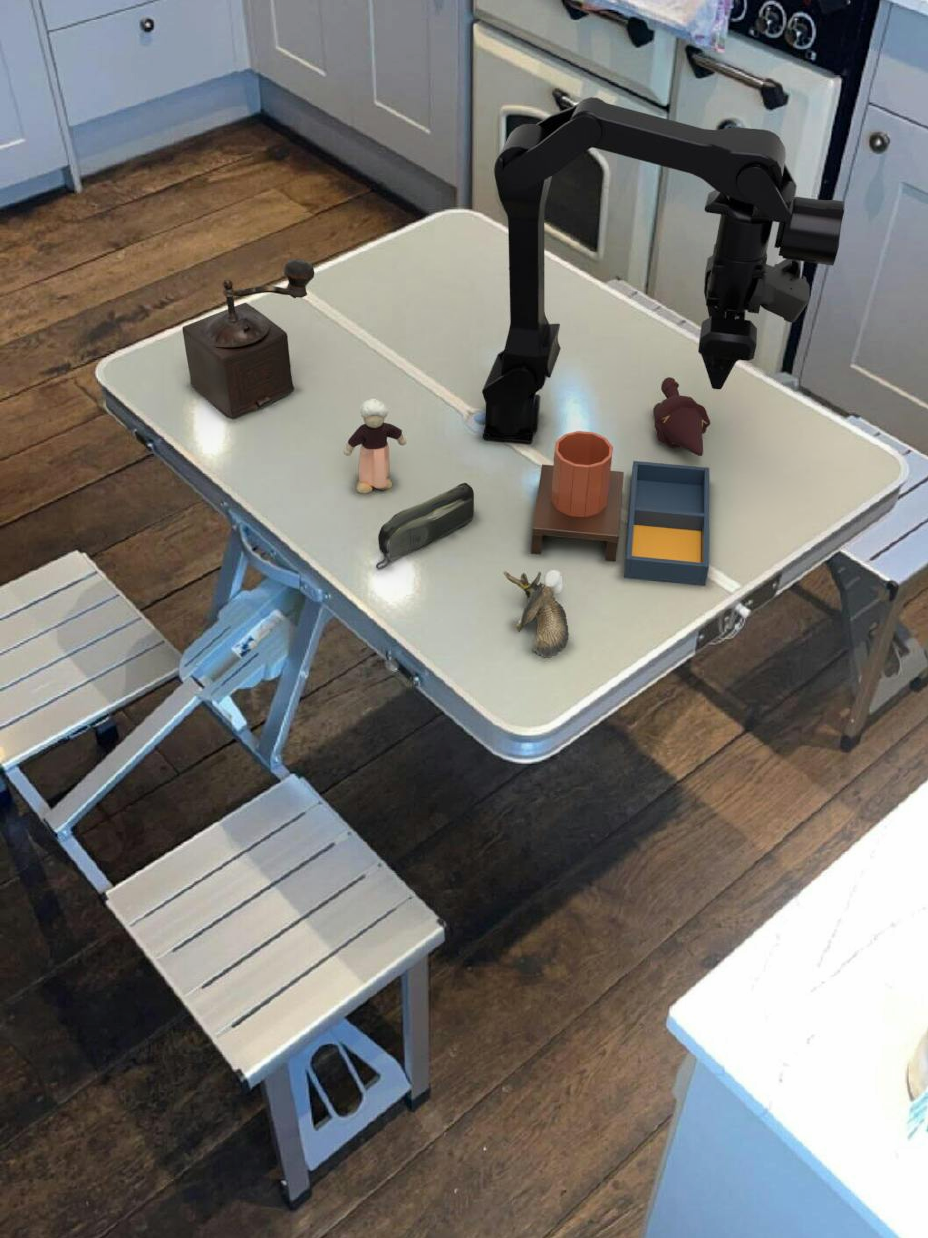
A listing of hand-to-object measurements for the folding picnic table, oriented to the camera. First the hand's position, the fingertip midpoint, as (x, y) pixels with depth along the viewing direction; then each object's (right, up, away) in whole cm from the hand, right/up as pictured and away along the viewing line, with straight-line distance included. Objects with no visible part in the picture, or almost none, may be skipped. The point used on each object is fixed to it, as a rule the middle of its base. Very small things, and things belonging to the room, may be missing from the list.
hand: (718, 366), depth 155 cm
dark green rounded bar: (-35, -21, -1) cm, 41 cm away
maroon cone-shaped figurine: (-3, -8, +12) cm, 15 cm away
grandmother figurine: (-41, -14, +6) cm, 44 cm away
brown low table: (-17, -19, +1) cm, 25 cm away
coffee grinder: (-59, +2, +21) cm, 62 cm away
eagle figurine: (-23, -31, -11) cm, 40 cm away
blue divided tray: (-6, -20, 0) cm, 21 cm away
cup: (-17, -16, -2) cm, 23 cm away
